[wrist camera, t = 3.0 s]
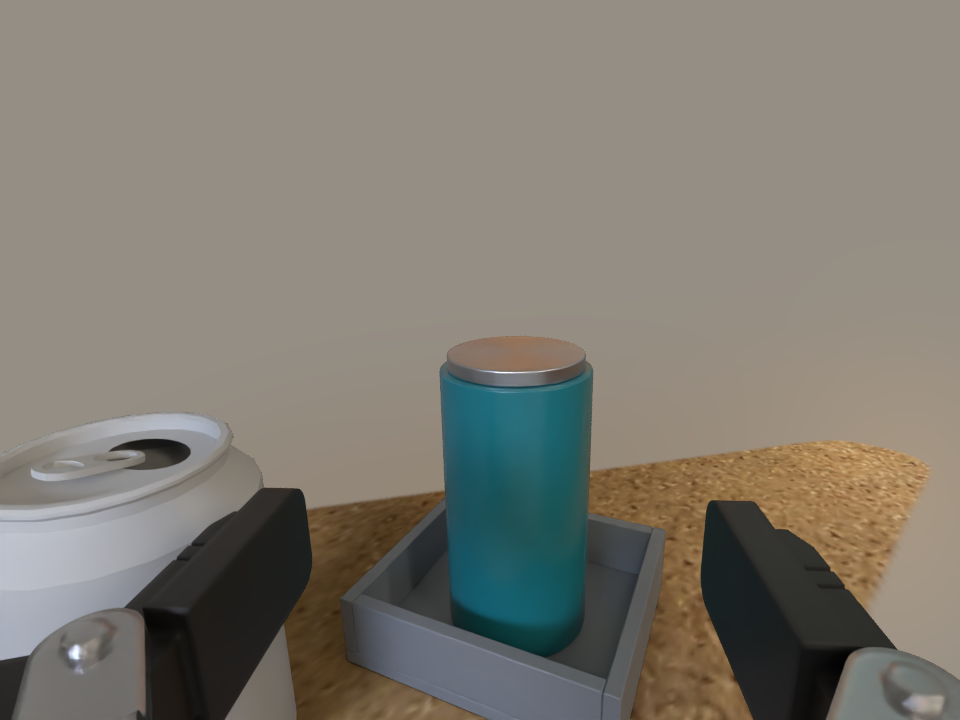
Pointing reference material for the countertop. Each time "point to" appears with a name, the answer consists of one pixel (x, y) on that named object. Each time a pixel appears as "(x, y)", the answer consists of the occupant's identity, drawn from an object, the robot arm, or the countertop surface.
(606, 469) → the countertop surface
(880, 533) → the countertop surface
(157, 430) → the can
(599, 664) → the gray rectangular tray
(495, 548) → the slim can
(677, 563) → the countertop surface
